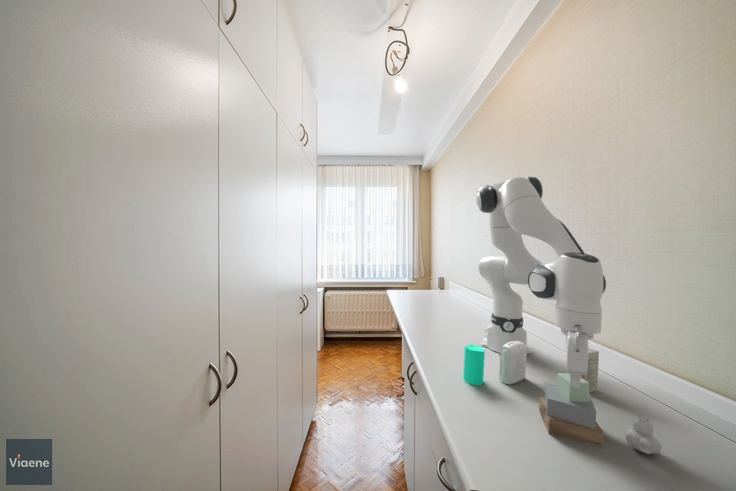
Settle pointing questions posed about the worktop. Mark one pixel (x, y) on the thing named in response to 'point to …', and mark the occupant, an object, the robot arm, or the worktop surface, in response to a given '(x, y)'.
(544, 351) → the worktop surface
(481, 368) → the candle
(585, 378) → the skincare box
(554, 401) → the gray block
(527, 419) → the worktop surface
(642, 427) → the white figurine
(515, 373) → the photo printer
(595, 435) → the walnut block
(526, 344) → the robot arm
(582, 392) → the sage cube
